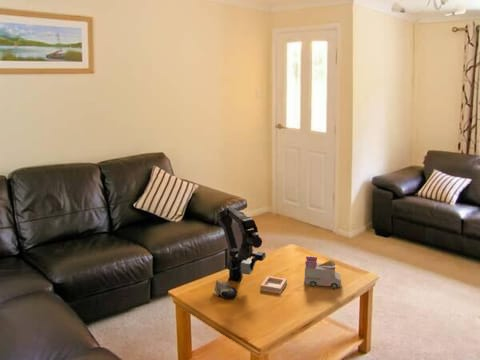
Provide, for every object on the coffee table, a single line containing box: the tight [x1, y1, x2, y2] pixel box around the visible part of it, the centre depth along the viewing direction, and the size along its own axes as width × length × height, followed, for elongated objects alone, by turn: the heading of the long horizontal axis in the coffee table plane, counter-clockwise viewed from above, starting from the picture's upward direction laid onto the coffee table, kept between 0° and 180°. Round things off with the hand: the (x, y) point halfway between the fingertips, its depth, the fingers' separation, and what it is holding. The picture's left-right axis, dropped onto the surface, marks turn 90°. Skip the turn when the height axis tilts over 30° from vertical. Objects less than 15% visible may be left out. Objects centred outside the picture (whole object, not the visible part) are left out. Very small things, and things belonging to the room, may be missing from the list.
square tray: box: [259, 275, 288, 294], centre depth 251 cm, size 11×12×3 cm
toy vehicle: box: [303, 256, 342, 290], centre depth 251 cm, size 9×20×15 cm, turn 78°
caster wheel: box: [214, 279, 238, 300], centre depth 242 cm, size 7×11×10 cm
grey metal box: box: [241, 258, 255, 275], centre depth 247 cm, size 5×6×6 cm
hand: (247, 269), depth 248 cm, fingers closed on grey metal box, 5 cm apart
